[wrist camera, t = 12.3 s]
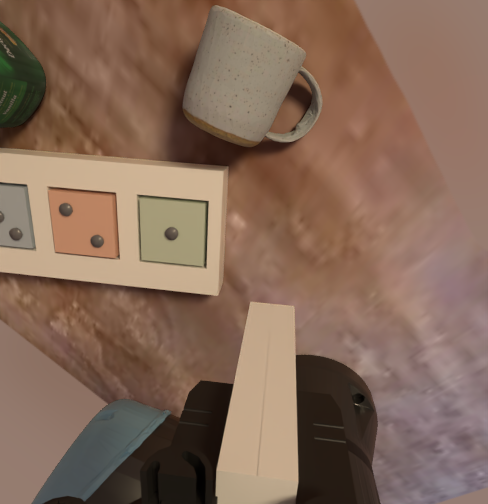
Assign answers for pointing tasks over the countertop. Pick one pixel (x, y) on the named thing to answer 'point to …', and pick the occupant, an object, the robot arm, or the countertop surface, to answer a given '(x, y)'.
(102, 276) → the button panel
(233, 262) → the countertop surface
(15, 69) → the coffee jar
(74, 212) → the two-pip button
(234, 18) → the ceramic mug
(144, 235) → the one-pip button
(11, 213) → the three-pip button
